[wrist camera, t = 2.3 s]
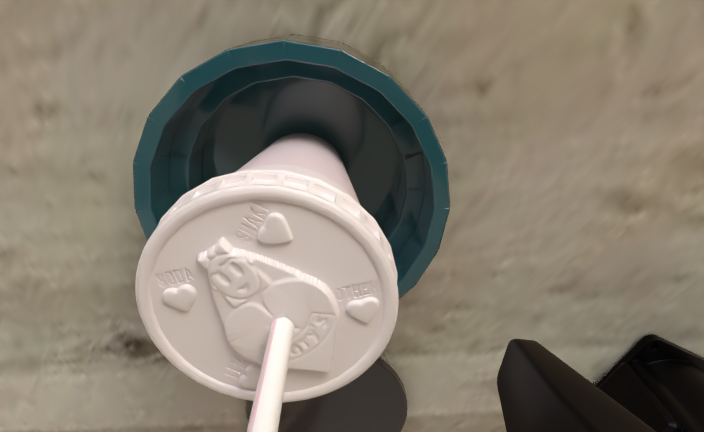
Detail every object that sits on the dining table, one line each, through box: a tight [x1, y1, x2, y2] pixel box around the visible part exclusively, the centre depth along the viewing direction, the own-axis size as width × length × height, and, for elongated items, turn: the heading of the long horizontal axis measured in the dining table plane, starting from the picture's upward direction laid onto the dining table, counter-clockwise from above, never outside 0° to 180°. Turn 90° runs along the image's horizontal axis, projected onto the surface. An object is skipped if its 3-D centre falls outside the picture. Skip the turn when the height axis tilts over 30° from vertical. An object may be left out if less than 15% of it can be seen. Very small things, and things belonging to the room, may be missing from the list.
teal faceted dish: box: [133, 35, 450, 298], centre depth 18 cm, size 11×11×4 cm
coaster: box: [245, 357, 407, 432], centre depth 25 cm, size 9×9×1 cm
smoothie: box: [135, 133, 399, 432], centre depth 13 cm, size 6×6×14 cm
